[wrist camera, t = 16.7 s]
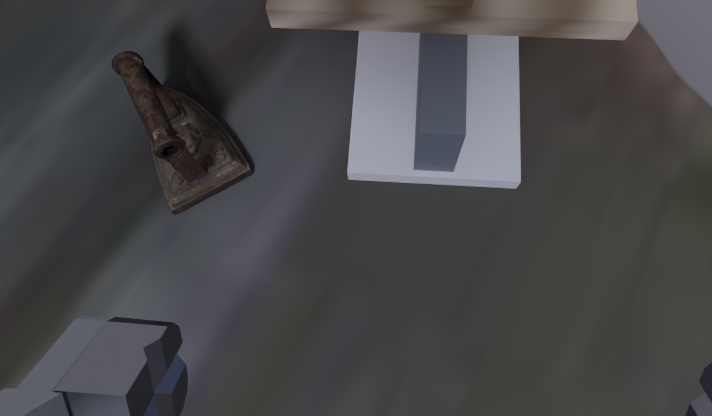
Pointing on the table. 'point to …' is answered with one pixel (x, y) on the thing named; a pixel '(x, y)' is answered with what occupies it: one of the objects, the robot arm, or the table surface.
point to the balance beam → (462, 17)
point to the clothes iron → (182, 138)
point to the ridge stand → (436, 109)
